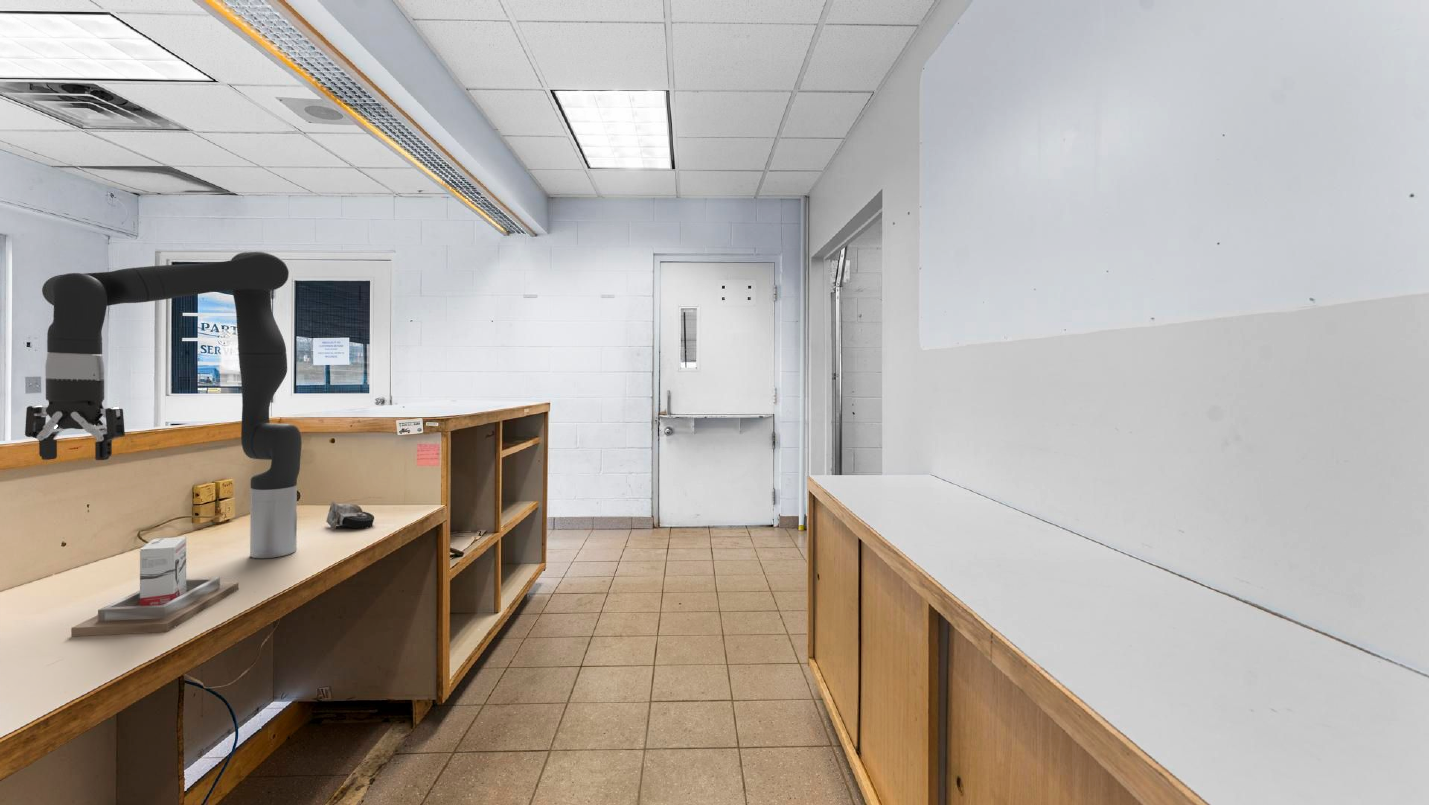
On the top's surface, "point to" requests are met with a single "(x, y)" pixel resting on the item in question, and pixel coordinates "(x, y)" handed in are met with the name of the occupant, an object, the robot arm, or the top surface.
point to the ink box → (162, 571)
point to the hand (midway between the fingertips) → (76, 459)
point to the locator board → (155, 610)
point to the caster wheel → (349, 516)
